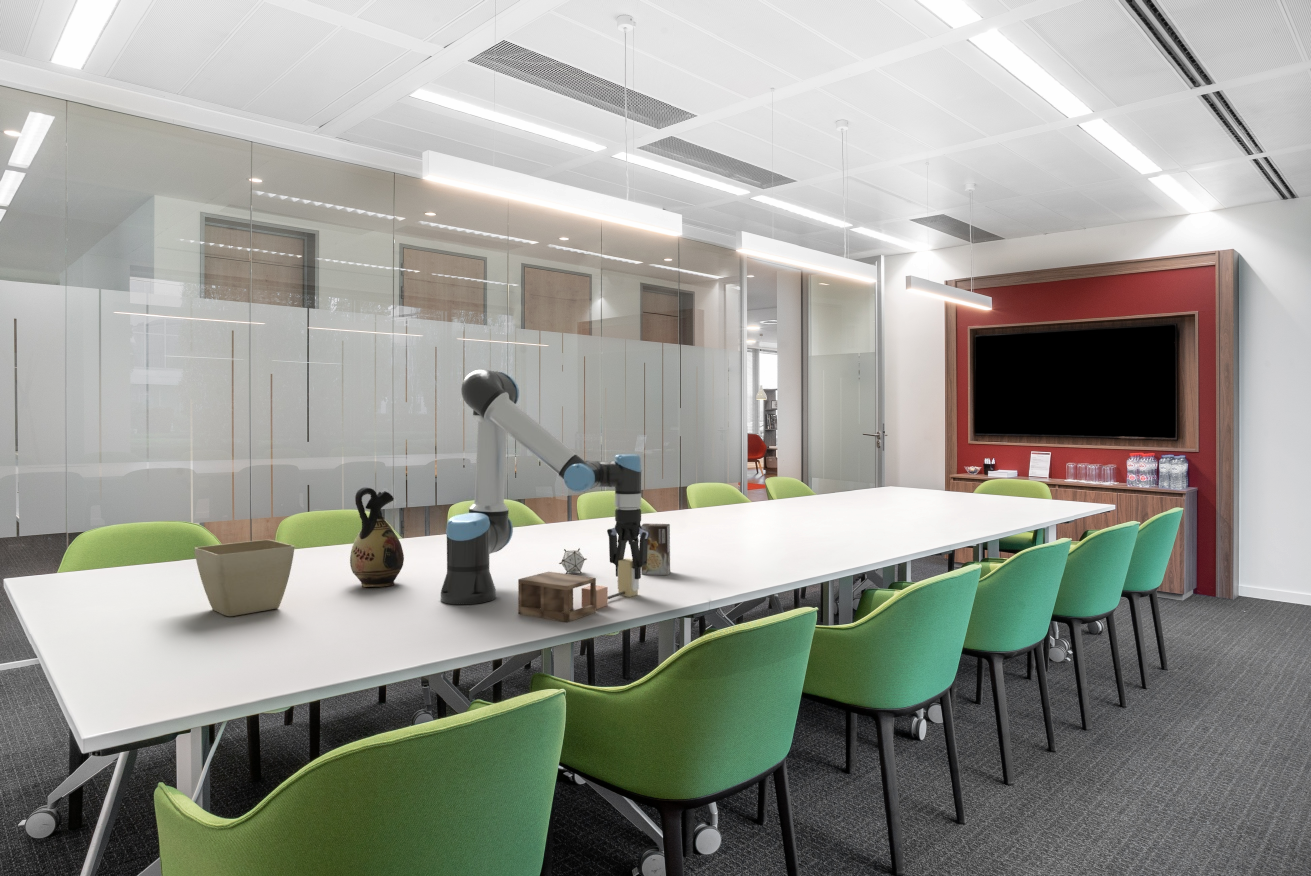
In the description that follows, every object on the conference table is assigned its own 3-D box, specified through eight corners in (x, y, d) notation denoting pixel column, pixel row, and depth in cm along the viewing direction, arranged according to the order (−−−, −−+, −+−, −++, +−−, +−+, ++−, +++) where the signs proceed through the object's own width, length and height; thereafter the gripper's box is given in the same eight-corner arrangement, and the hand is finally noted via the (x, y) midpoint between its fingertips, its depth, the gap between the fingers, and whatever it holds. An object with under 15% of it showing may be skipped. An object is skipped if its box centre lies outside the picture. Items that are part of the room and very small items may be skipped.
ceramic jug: (383, 577, 245) (383, 484, 245) (414, 583, 236) (413, 486, 236) (334, 586, 232) (333, 487, 231) (364, 593, 223) (364, 490, 222)
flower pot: (193, 609, 204) (192, 546, 203) (268, 597, 217) (268, 538, 217) (218, 622, 191) (217, 554, 190) (296, 609, 205) (296, 545, 204)
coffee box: (671, 571, 256) (671, 523, 255) (668, 575, 249) (668, 526, 249) (643, 570, 257) (643, 522, 257) (640, 574, 251) (640, 525, 250)
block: (624, 592, 224) (624, 558, 224) (639, 594, 222) (639, 559, 222) (581, 606, 207) (581, 569, 207) (596, 609, 204) (596, 571, 204)
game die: (576, 585, 252) (580, 564, 246) (553, 575, 253) (556, 554, 247) (588, 567, 259) (592, 547, 253) (565, 558, 260) (569, 537, 254)
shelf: (548, 604, 210) (548, 571, 209) (595, 612, 201) (595, 577, 201) (518, 613, 199) (518, 579, 199) (566, 622, 191) (566, 586, 191)
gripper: (660, 508, 219) (660, 590, 220) (611, 505, 229) (611, 583, 229) (645, 511, 213) (645, 595, 214) (596, 507, 222) (596, 588, 223)
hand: (628, 588), depth 221 cm, fingers closed on block, 4 cm apart
